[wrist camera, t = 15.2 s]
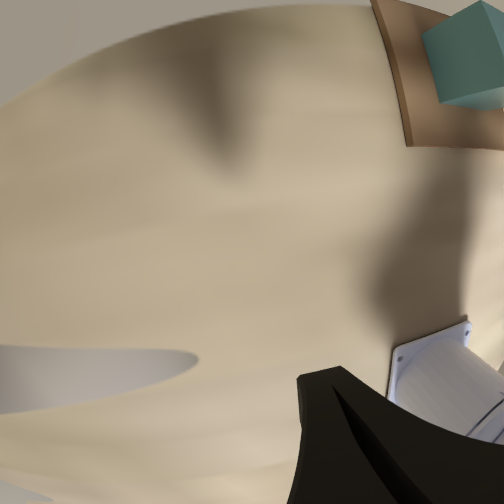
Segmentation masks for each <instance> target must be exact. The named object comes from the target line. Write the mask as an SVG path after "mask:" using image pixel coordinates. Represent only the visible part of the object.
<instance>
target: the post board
mask: <svg viewBox="0 0 504 504" xmlns="http://www.w3.org/2000/svg"><path fill="white" fill-rule="evenodd" d="M370 2H371V4H372V7H373V10H374V13H375V15H376V18H377V21H378V24H379V27H380V30H381V33H382V37H383V40H384V43H385V47H386V50H387V54H388V57H389V61H390V65H391V69H392V72H393V77H394V81H395V85H396V90H397V94H398V99H399V104H400V109H401V114H402V120H403V126H404V132H405V138H406V145H407V147H457V148H476V149H490V150H501V151H504V111H503V108H500V109H493V110H488V111H483V110H478V109H473V108H467V107H461V106H455V105H449V104H442V103H439V99H438V94H437V90H436V86H435V81H434V77H433V74H432V70H431V66H430V63H429V59H428V56H427V52H426V49H425V46H424V43H423V40H422V37H421V35H422V34H423V33H425V32H426V31H428V30H430V29H431V28H433V27H434V26H436V25H438V24H439V23H441V22H443V21H444V20H446V19H448V18H449V17H450V16H448V15H445V14H442V13H439V12H436V11H433V10H430V9H427V8H423V7H420V6H417V5H413V4H410V3H406V2H402V1H398V0H370Z"/></svg>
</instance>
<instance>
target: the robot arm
mask: <svg viewBox="0 0 504 504" xmlns="http://www.w3.org/2000/svg"><path fill="white" fill-rule="evenodd" d="M471 327H472V323H471V322H470V321H465V322H462V323H460V324H457V325H455V326H453V327H450V328H447V329H445V330H442V331H440V332H437V333H434V334H432V335H429V336H426V337H423V338H421V339H418V340H415V341H412V342H409V343H406V344H403V345H400V346H398V347H396V348H395V350H394V352H393V359H392V368H391V376H390V383H389V390H388V396H387V398H385V397H384V396H382V395H381V394H379V393H378V392H376V391H375V390H373V389H372V388H370V387H369V386H368V385H366V384H365V383H363V382H362V381H361V380H359V379H358V378H357V377H355V376H354V375H353V374H351V373H350V372H349V371H347V370H346V369H345V368H343V367H342V366H337V367H333V368H329V369H324V370H320V371H316V372H311V373H307V374H302V375H300V376H299V377H298V378H297V390H298V402H299V415H300V423H301V427H302V433H301V441H300V449H299V456H298V462H297V467H296V471H295V476H294V480H293V484H292V488H291V491H290V495H289V498H288V501H287V504H504V377H503V376H502V375H501V374H499V373H498V372H497V371H496V370H495V369H494V368H492V367H491V366H490V365H489V364H487V363H486V362H485V361H484V360H482V359H481V358H480V357H478V356H477V355H476V354H475V353H473V352H472V351H471V350H470V349H468V348H467V346H468V342H469V337H470V332H471ZM400 356H401V357H400ZM399 357H400V358H399ZM398 358H399V359H398Z"/></svg>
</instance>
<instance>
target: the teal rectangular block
mask: <svg viewBox="0 0 504 504" xmlns="http://www.w3.org/2000/svg"><path fill="white" fill-rule="evenodd" d="M421 37H422V40H423V43H424V46H425V49H426V52H427V56H428V59H429V63H430V66H431V70H432V74H433V77H434V81H435V86H436V90H437V94H438V99H439V103H442V104H449V105H455V106H461V107H467V108H473V109H478V110H483V111H488V110H493V109H500V108H504V13H503V12H501V11H500V10H498V9H496V8H494V7H493V6H491V5H489V4H487V3H485V2H484V1H482V0H479V1H478V2H476V3H474V4H472V5H470V6H468V7H467V8H465V9H463V10H461V11H460V12H458V13H456V14H454V15H453V16H451V17H449V18H448V19H446V20H444V21H443V22H441V23H439V24H438V25H436V26H434V27H433V28H431V29H430V30H428V31H426V32H425V33H423V34H422V35H421Z"/></svg>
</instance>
